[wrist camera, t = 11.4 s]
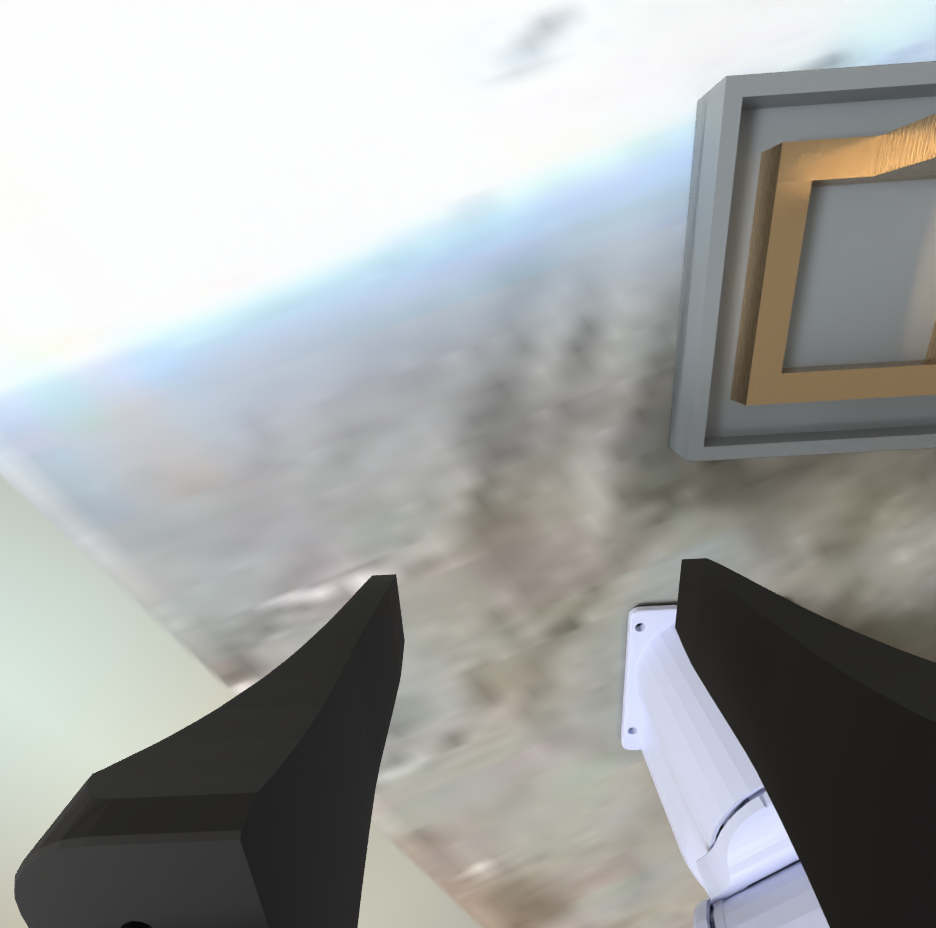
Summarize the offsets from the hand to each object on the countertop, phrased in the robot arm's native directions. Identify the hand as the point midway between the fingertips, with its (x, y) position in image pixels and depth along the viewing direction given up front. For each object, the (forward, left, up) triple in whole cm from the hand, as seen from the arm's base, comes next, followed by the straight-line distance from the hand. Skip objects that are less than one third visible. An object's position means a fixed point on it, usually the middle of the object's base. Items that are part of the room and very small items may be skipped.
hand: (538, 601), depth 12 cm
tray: (+7, -14, -10) cm, 19 cm away
